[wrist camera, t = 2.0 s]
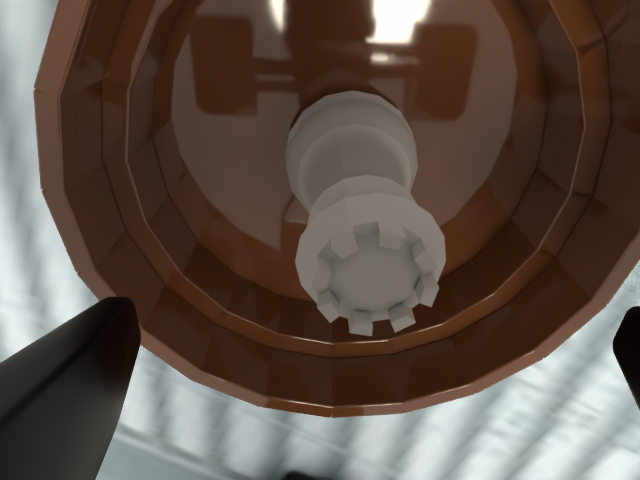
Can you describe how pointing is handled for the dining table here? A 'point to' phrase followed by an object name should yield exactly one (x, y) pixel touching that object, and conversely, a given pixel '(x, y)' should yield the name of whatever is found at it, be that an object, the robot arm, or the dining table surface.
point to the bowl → (292, 218)
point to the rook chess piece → (362, 213)
